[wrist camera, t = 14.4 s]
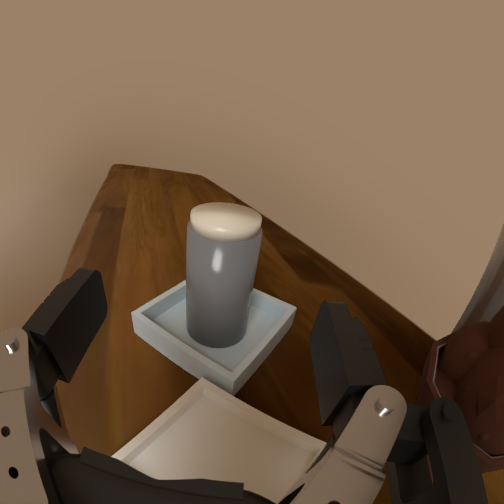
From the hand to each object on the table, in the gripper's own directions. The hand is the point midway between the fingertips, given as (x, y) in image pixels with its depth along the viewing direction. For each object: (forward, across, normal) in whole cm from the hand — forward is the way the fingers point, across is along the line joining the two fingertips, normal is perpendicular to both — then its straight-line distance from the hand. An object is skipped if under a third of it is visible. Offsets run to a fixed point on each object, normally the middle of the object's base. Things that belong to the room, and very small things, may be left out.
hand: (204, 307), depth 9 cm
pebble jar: (+12, 0, +12) cm, 17 cm away
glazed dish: (+12, 0, +13) cm, 17 cm away
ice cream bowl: (-2, -16, +13) cm, 21 cm away
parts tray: (-2, -1, +13) cm, 13 cm away
